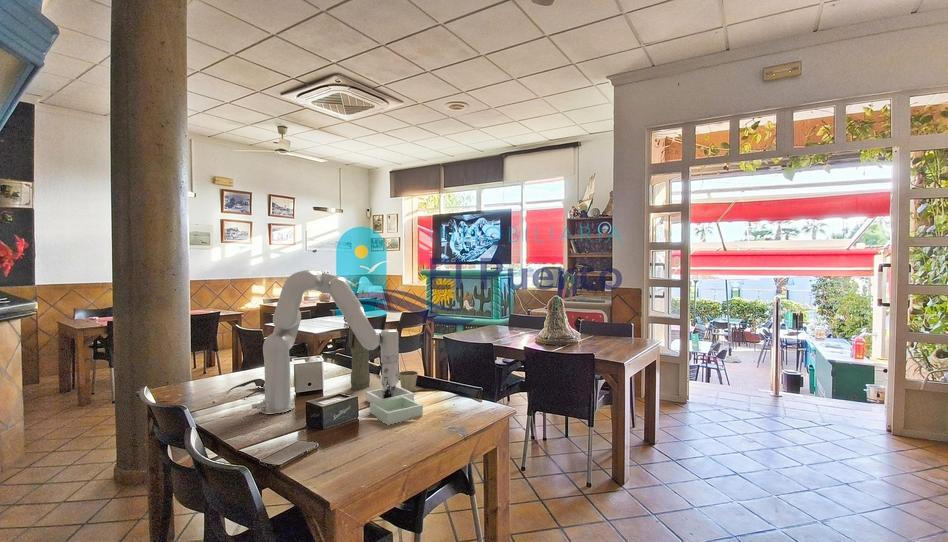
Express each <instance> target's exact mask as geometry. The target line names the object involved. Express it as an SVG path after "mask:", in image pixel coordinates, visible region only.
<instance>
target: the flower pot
mask: <svg viewBox="0 0 948 542" xmlns="http://www.w3.org/2000/svg"><path fill="white" fill-rule="evenodd" d="M412 374H414V375H412ZM418 375H419V372H418V371H416V370H402V371H400V372H399V382H400V387H401V388H403V389H405V390H408V391H410V392H414V391H415V390H416V385H417V379H418Z"/></svg>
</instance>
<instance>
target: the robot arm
mask: <svg viewBox="0 0 948 542" xmlns="http://www.w3.org/2000/svg"><path fill="white" fill-rule="evenodd" d="M307 291H316V292H320V293H321V292H322V293H324V294H328V295H329V296H330V297H331V299H332V300H333V302H334V304H335V305H336V306H337V308H338V309H339V311H340V312H341V314H342V316H343V317H344V319H345V321H346V322H347V324H348V326H349V328H350V327H351V329H352V331H353V333H354V334H355V336H356V337H357V339H358V340H359V342H360V343H361V345H362V346H363V347H364V348H365V349H367V350H370V351H374V350H375V349H377V348H378V347H379V346H380V363H381V365H382V366H381V387H382V389H383V390H384V399H385V398H390V397H392V394H391V388H396V386H397V384H398V383H399V382H400V377H399V361H400V359H399V356H400V355H399V354H400V353H399V331H398V330H397V329H392V328H391V329H374V327H373V326H372V324H371V322H370V321H369V319H368V317H367V315H366V312H365V310H364V309H365V308H364V307H363V305H362V302H360V300H359V299H358V297H357V295H355V293H354V291H353V289H352V288H351V286H350V283H349V280H348V279H347V278H345V277H343V276H339V275H335V274H331V273H328V272H324V271H319V270H316V269H305V270H300V271H297V272H295V273H292V274H291V275H290V276H288V277H287V279H286V280H285V281H284V283H283V285H282V288H281V292H280V294H279V298H278V301H277V303H276V307H275V310H274V313H273V317H272V323H273V326H274V327H273V328H274V329H273V331H272V333H270V334H269V335H268V336H267V337H266V338H265V339H264V342H263V344H262V354H263V362H264V363H263V364H264V381H265V384H264V386H265V390H264V399H262V401H261V402H258V403H257V402H256V403H251V409H252V410H254V409H256V410H260V413H261V412H263V413H280V412H284V411H287V410H290V409H292V408H294V407H295V404H294V403H292V402H291V359H290V350H291V349H292V348H293V346H294V345H295V342H296V339H297V336H298V331H299V328H300V324H301V321H302V313H301V311H300V306H301V303H302V300H303V295H304V293H305V292H307ZM387 388H389V390H388V389H387ZM294 409H295V408H294ZM263 413H262V414H263Z"/></svg>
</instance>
